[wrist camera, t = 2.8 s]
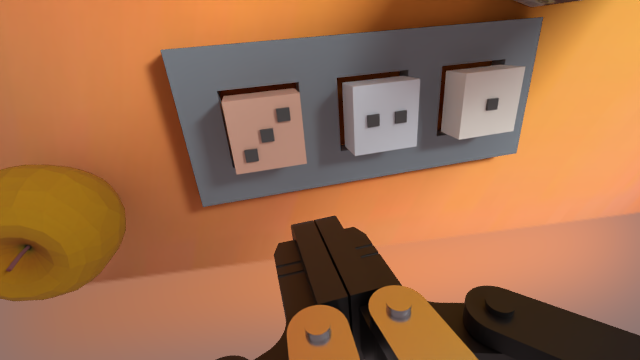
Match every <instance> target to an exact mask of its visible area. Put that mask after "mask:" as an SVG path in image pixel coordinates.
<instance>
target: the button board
mask: <svg viewBox="0 0 640 360" xmlns="http://www.w3.org/2000/svg"><path fill="white" fill-rule="evenodd" d="M542 21H543V17H539V18H527V19H515V20H504V21H492V22H481V23H469V24H457V25H446V26H434V27H422V28H411V29H399V30H387V31H376V32H364V33H353V34H341V35H329V36H318V37H306V38H294V39H283V40H271V41H259V42H248V43H236V44H224V45H213V46H201V47H190V48H178V49H166V50H161V54H162V57H163V61H164V65H165V68H166V72H167V76H168V79H169V83H170V87H171V90H172V94H173V98H174V102H175V105H176V109H177V113H178V116H179V120H180V124H181V127H182V131H183V135H184V138H185V142H186V146H187V150H188V153H189V157H190V161H191V164H192V168H193V172H194V175H195V179H196V183H197V187H198V190H199V194H200V198H201V201H202V205H203V207H206V206H211V205H217V204H223V203H229V202H235V201H241V200H246V199H252V198H258V197H264V196H270V195H275V194H281V193H287V192H293V191H299V190H304V189H310V188H316V187H322V186H328V185H334V184H339V183H345V182H351V181H357V180H363V179H368V178H374V177H380V176H386V175H392V174H398V173H403V172H409V171H415V170H421V169H427V168H432V167H438V166H444V165H450V164H456V163H461V162H467V161H473V160H479V159H485V158H491V157H496V156H502V155H508V154H514V153H516V152H517V147H518V142H519V137H520V132H521V127H522V122H523V117H524V112H525V107H526V102H527V97H528V92H529V87H530V82H531V77H532V71H533V66H534V61H535V56H536V51H537V46H538V41H539V36H540V31H541V26H542ZM484 61H492V63H491V66H493V65H512V66H524V67H525V72H524V77H523V83H522V88H521V93H520V99H519V104H518V109H517V115H516V120H515V125H514V131H511V132H504V133H498V134H492V135H485V136H479V137H473V138H466V139H460V140H459V139H456V138H454V137H452V136H450V135H447V134H445V133H443V132H441V130H437V124H438V112H439V100H440V88H441V76H442V66H448V65H457V64H466V63H475V62H484ZM394 71H399V76H408V77H413V78H418V79H420V93H419V112H418V130H417V146H416V147H409V148H403V149H396V150H390V151H384V152H377V153H371V154H365V155H358V156H354V155H353V154H352V153H351V152H350V151H349V150H348V149H347V148H346V147H345V144H344V145H340V128H339V109H338V90H337V78H340V77H349V76H358V75H367V74H376V73H385V72H394ZM295 82H296V90H297V91H298V92H299V93H300V101H301V111H302V121H303V130H304V140H305V150H306V159H307V164H301V165H295V166H289V167H282V168H276V169H270V170H263V171H257V172H250V173H244V174H238V175H237V174H236V169H235V164H234V161H233V156H232V152H231V147H230V142H229V137H228V132H227V128H226V123H225V118H224V113H223V108H222V104H221V99H220V94H219V91H222V90H231V89H241V88H250V87H259V86H268V85H277V84H286V83H295Z"/></svg>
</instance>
